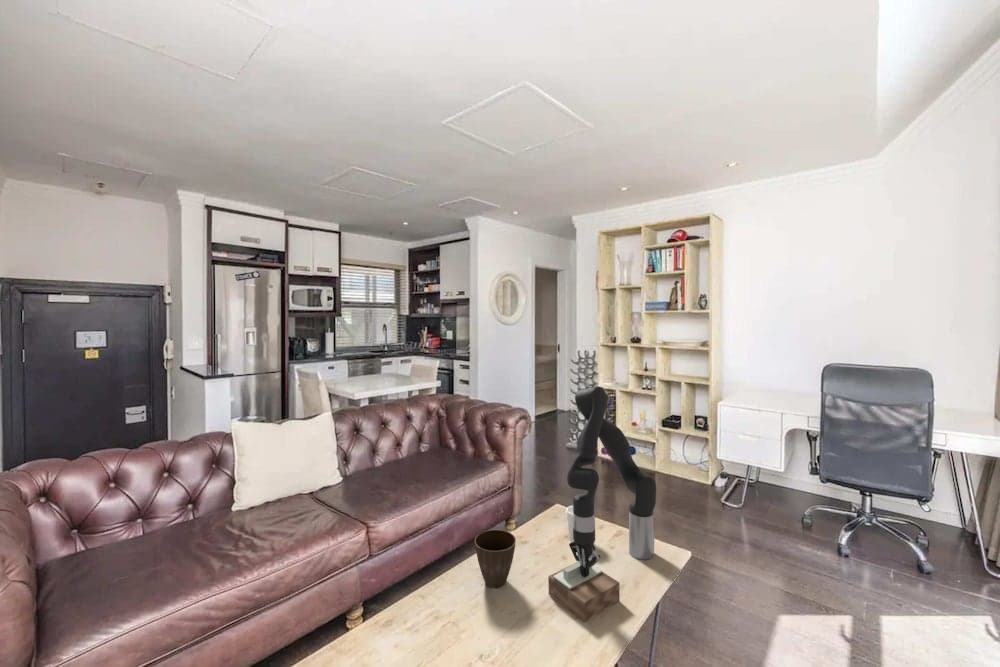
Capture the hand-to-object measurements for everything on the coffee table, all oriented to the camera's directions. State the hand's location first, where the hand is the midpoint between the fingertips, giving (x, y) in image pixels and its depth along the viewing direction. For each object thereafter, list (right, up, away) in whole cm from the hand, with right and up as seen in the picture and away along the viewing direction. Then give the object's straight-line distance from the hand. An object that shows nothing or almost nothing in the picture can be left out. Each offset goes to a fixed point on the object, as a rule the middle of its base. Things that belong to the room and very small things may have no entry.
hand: (584, 575), depth 148 cm
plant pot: (-31, -8, +10) cm, 33 cm away
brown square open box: (0, -8, +1) cm, 8 cm away
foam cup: (+4, -6, +38) cm, 39 cm away
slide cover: (-2, -1, +3) cm, 3 cm away
